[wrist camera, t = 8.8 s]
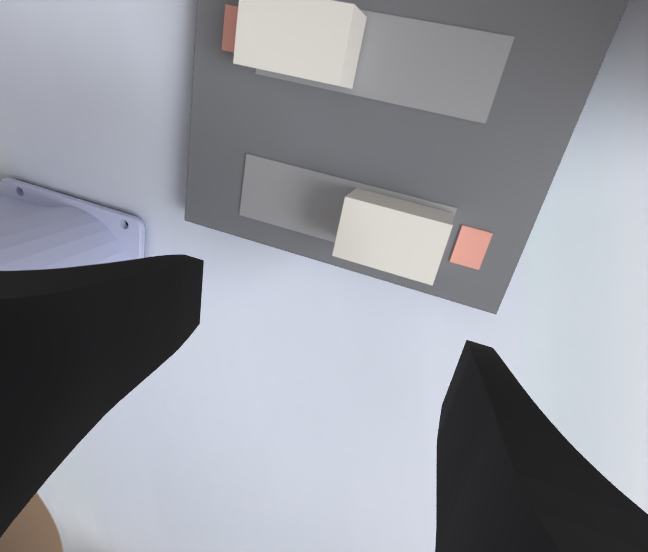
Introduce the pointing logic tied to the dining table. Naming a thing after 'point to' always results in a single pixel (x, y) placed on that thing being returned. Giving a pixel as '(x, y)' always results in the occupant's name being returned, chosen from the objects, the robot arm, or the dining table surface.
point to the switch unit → (400, 130)
